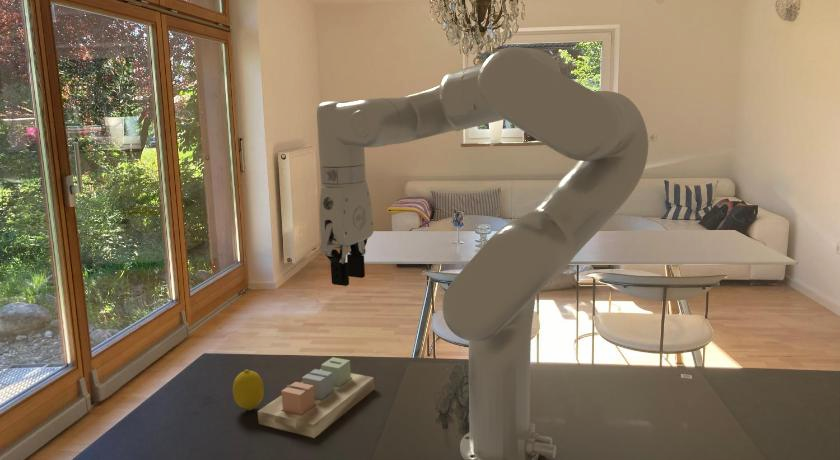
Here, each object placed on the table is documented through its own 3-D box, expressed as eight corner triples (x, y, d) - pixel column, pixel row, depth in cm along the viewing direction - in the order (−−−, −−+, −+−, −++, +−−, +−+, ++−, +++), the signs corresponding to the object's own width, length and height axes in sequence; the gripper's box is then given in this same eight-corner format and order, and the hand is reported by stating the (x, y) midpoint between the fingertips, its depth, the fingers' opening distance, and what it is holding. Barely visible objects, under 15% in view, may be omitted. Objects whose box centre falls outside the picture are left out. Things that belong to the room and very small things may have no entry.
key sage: (351, 381, 125) (349, 359, 124) (339, 389, 122) (338, 367, 121) (334, 377, 127) (332, 356, 126) (322, 386, 124) (320, 364, 123)
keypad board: (374, 389, 126) (373, 377, 125) (314, 438, 108) (313, 424, 108) (323, 378, 131) (322, 367, 130) (258, 423, 113) (257, 410, 113)
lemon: (257, 418, 115) (253, 377, 114) (229, 416, 117) (225, 375, 115) (270, 404, 121) (267, 364, 119) (243, 402, 122) (239, 362, 120)
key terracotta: (316, 408, 115) (314, 385, 114) (302, 418, 111) (301, 394, 110) (295, 403, 117) (293, 380, 116) (281, 413, 113) (279, 390, 112)
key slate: (333, 394, 120) (332, 371, 119) (321, 403, 116) (320, 380, 116) (316, 390, 122) (314, 368, 121) (303, 399, 118) (302, 376, 117)
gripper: (333, 183, 98) (339, 297, 102) (387, 170, 113) (391, 270, 117) (294, 181, 101) (301, 292, 105) (351, 169, 116) (356, 266, 120)
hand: (348, 279), depth 111 cm, fingers open, 4 cm apart
